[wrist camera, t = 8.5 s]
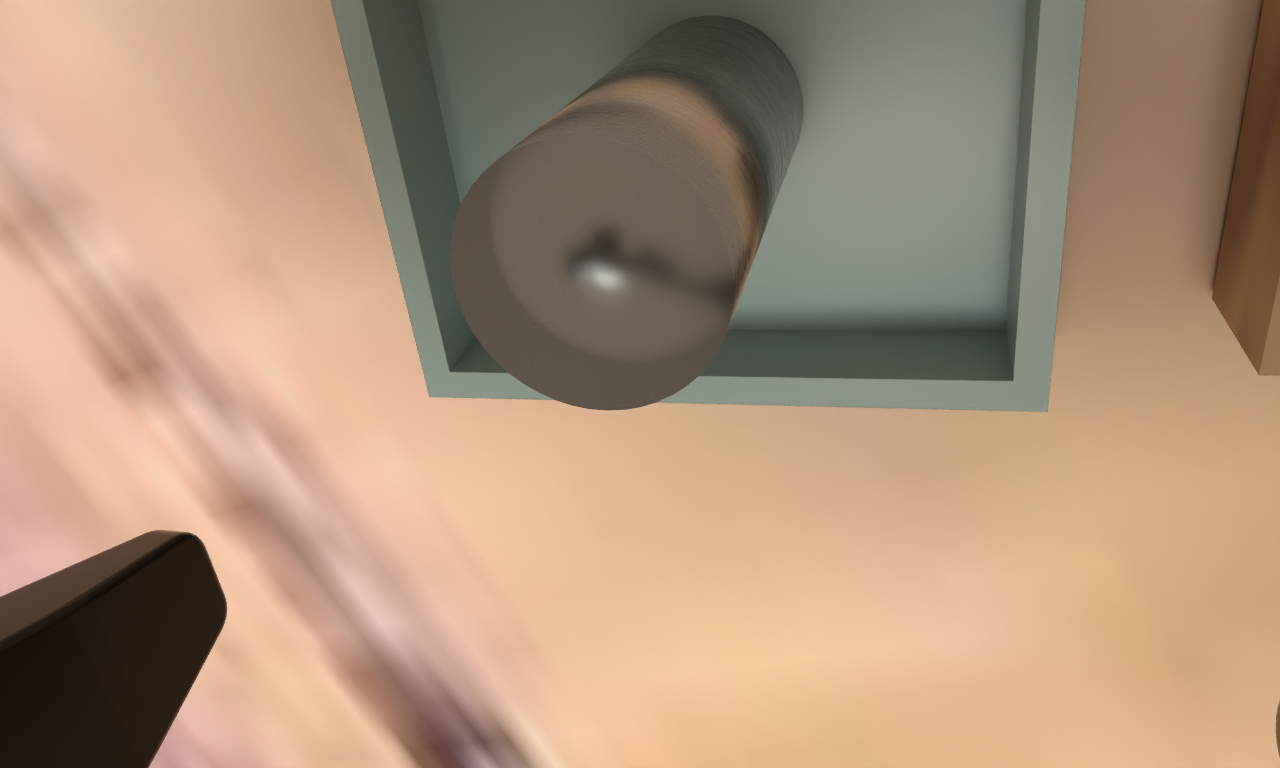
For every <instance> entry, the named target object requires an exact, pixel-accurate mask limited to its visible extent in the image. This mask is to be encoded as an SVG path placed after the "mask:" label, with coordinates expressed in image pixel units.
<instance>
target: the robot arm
mask: <svg viewBox="0 0 1280 768" xmlns="http://www.w3.org/2000/svg"><path fill="white" fill-rule="evenodd" d="M226 615H227V602H226V598H225V595H224V593H223V590H222V588H221V585H220V583H219V580H218V577H217V575H216V572H215V570H214V567H213V565H212V562H211V560H210V557H209V555H208V552H207V550H206V547H205V546H204V544H203V542H202V541H201V540H200V539H199V538H198V537H197V536H196V535H194V534H191V533H188V532H178V531H166V530H156V531H151V532H148V533H145V534H143V535H140V536H138V537H136V538H134V539H131V540H129V541H127V542H124V543H122V544H120V545H118V546H115V547H113V548H111V549H108V550H106V551H104V552H102V553H99V554H97V555H95V556H93V557H90V558H88V559H86V560H83V561H81V562H79V563H77V564H74V565H72V566H70V567H67V568H65V569H63V570H61V571H58V572H56V573H54V574H51V575H49V576H47V577H45V578H42V579H40V580H38V581H35V582H33V583H31V584H29V585H26V586H24V587H22V588H19V589H17V590H15V591H13V592H10V593H8V594H6V595H3V596H1V597H0V768H149V766H150V764H151V762H152V761H153V759H154V757H155V755H156V753H157V752H158V750H159V748H160V746H161V744H162V742H163V740H164V739H165V737H166V735H167V733H168V731H169V729H170V727H171V725H172V723H173V721H174V720H175V718H176V716H177V714H178V712H179V710H180V708H181V706H182V704H183V702H184V701H185V699H186V697H187V695H188V693H189V691H190V689H191V687H192V685H193V683H194V682H195V680H196V678H197V676H198V674H199V672H200V670H201V668H202V666H203V665H204V663H205V661H206V659H207V657H208V655H209V653H210V651H211V649H212V647H213V646H214V644H215V642H216V640H217V638H218V636H219V634H220V632H221V630H222V628H223V626H224V623H225V620H226ZM1276 738H1277V746H1278V752H1279V756H1280V702H1279V705H1278V710H1277V715H1276Z"/></svg>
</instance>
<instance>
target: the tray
mask: <svg viewBox="0 0 1280 768" xmlns="http://www.w3.org/2000/svg"><path fill="white" fill-rule="evenodd" d="M331 4H332V8H333V12H334V16H335V20H336V24H337V28H338V32H339V36H340V40H341V44H342V48H343V52H344V56H345V60H346V64H347V68H348V72H349V76H350V80H351V84H352V88H353V93H354V97H355V101H356V105H357V109H358V113H359V117H360V121H361V125H362V129H363V133H364V137H365V141H366V145H367V149H368V153H369V157H370V161H371V165H372V169H373V173H374V177H375V181H376V185H377V189H378V193H379V197H380V201H381V205H382V209H383V213H384V217H385V221H386V225H387V229H388V233H389V237H390V241H391V245H392V249H393V253H394V257H395V261H396V265H397V269H398V273H399V277H400V281H401V285H402V289H403V293H404V297H405V301H406V305H407V309H408V313H409V317H410V321H411V325H412V329H413V333H414V337H415V341H416V345H417V349H418V353H419V357H420V361H421V365H422V369H423V373H424V377H425V381H426V385H427V389H428V393H429V397H451V398H492V399H534V400H554V399H552V398H550V397H547V396H545V395H543V394H541V393H539V392H537V391H535V390H533V389H532V388H530V387H528V386H526V385H525V384H523V383H522V382H520V381H519V380H518V379H516V378H515V377H513V376H512V375H511V374H509V373H508V372H507V371H506V370H505V369H504V368H503V367H502V366H500V365H499V364H498V363H497V362H496V361H495V360H494V359H493V358H492V357H491V355H490V354H489V353H488V352H487V351H486V350H485V349H484V347H483V346H482V345H481V343H480V342H479V341H478V339H477V338H476V336H475V335H474V333H473V332H472V330H471V328H470V326H469V325H468V323H467V321H466V319H465V317H464V315H463V313H462V310H461V308H460V305H459V303H458V300H457V297H456V293H455V290H454V286H453V281H452V275H451V268H450V245H451V236H452V230H453V226H454V222H455V218H456V215H457V213H458V211H459V208H460V206H461V203H462V201H463V199H464V198H465V196H466V194H467V193H468V191H469V189H470V188H471V186H472V185H473V184H474V182H475V181H476V180H477V179H478V178H479V176H480V175H481V174H482V173H483V172H484V171H485V170H486V169H487V168H488V167H490V166H491V165H492V164H493V163H494V162H495V161H496V160H498V159H499V158H500V157H502V156H503V155H504V154H505V153H507V152H508V151H509V150H510V149H512V148H513V147H514V146H515V145H517V144H518V143H519V142H520V141H522V140H523V139H524V138H526V137H527V136H528V135H529V134H531V133H532V132H533V131H534V130H536V129H537V128H538V127H539V126H541V125H542V124H543V123H545V122H546V121H547V120H548V119H550V118H551V117H552V116H553V115H555V114H556V113H557V112H558V111H560V110H561V109H562V108H564V107H565V106H566V105H567V104H569V103H570V102H571V101H572V100H574V99H575V98H576V97H577V96H579V95H580V94H581V93H582V92H584V91H585V90H586V89H588V88H589V87H590V86H591V85H593V84H594V83H595V82H596V81H598V80H599V79H600V78H601V77H603V76H604V75H605V74H607V73H608V72H609V71H610V70H612V69H613V68H614V67H615V66H617V65H618V64H619V63H620V62H622V61H623V60H624V59H625V58H627V57H628V56H629V55H631V54H632V53H633V52H634V51H636V50H637V49H638V48H639V47H641V46H642V45H643V44H644V43H646V42H647V41H648V40H650V39H651V38H652V37H653V36H655V35H656V34H657V33H659V32H660V31H662V30H663V29H665V28H666V27H668V26H670V25H672V24H674V23H676V22H678V21H682V20H685V19H688V18H692V17H698V16H723V17H729V18H733V19H737V20H740V21H742V22H745V23H747V24H750V25H752V26H753V27H755V28H757V29H759V30H760V31H762V32H763V33H764V34H766V35H767V36H768V37H770V38H771V39H772V40H773V41H774V42H775V43H776V44H777V45H778V46H779V47H780V48H781V50H782V51H783V52H784V54H785V55H786V56H787V58H788V59H789V61H790V63H791V65H792V66H793V68H794V70H795V73H796V75H797V78H798V81H799V84H800V88H801V92H802V99H803V123H802V129H801V133H800V137H799V140H798V143H797V146H796V149H795V151H794V154H793V157H792V159H791V162H790V165H789V167H788V170H787V173H786V176H785V178H784V181H783V184H782V186H781V189H780V192H779V194H778V197H777V200H776V202H775V205H774V208H773V210H772V213H771V216H770V218H769V221H768V224H767V226H766V229H765V232H764V234H763V237H762V240H761V242H760V245H759V248H758V250H757V253H756V256H755V258H754V261H753V264H752V266H751V269H750V272H749V274H748V277H747V280H746V282H745V285H744V288H743V290H742V293H741V296H740V299H739V301H738V304H737V307H736V309H735V312H734V315H733V317H732V320H731V323H730V325H729V328H728V331H727V333H726V336H725V338H724V340H723V342H722V344H721V346H720V349H719V350H718V352H717V353H716V355H715V357H714V358H713V360H712V361H711V363H710V364H709V365H708V366H707V367H706V369H705V370H704V371H703V372H702V373H701V374H700V375H699V376H698V377H697V378H696V379H695V380H693V381H692V382H691V383H690V384H689V385H688V386H686V387H685V388H683V389H682V390H680V391H678V392H677V393H675V394H674V395H672V396H670V397H667V398H665V399H663V400H661V401H658V403H699V404H741V405H782V406H824V407H865V408H906V409H948V410H989V411H1031V412H1048V402H1049V392H1050V381H1051V370H1052V360H1053V349H1054V338H1055V327H1056V317H1057V306H1058V295H1059V284H1060V274H1061V263H1062V252H1063V241H1064V231H1065V220H1066V209H1067V199H1068V188H1069V177H1070V166H1071V156H1072V145H1073V134H1074V123H1075V113H1076V102H1077V91H1078V80H1079V70H1080V59H1081V48H1082V38H1083V27H1084V16H1085V5H1086V0H331Z"/></svg>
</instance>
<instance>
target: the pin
mask: <svg viewBox="0 0 1280 768" xmlns="http://www.w3.org/2000/svg"><path fill="white" fill-rule="evenodd" d="M802 123H803V99H802V92H801V88H800V84H799V81H798V78H797V75H796V73H795V70H794V68H793V66H792V65H791V63H790V61H789V59H788V58H787V56H786V55H785V54H784V52H783V51H782V50H781V48H780V47H779V46H778V45H777V44H776V43H775V42H774V41H773V40H772V39H771V38H770V37H768V36H767V35H766V34H764V33H763V32H762V31H760V30H759V29H757V28H755V27H753V26H752V25H750V24H747V23H745V22H742V21H740V20H737V19H733V18H729V17H723V16H698V17H692V18H688V19H685V20H682V21H678V22H676V23H674V24H672V25H670V26H668V27H666V28H665V29H663V30H662V31H660V32H659V33H657V34H656V35H655V36H653V37H652V38H651V39H650V40H648V41H647V42H646V43H644V44H643V45H642V46H641V47H639V48H638V49H637V50H636V51H634V52H633V53H632V54H631V55H629V56H628V57H627V58H625V59H624V60H623V61H622V62H620V63H619V64H618V65H617V66H615V67H614V68H613V69H612V70H610V71H609V72H608V73H607V74H605V75H604V76H603V77H601V78H600V79H599V80H598V81H596V82H595V83H594V84H593V85H591V86H590V87H589V88H588V89H586V90H585V91H584V92H582V93H581V94H580V95H579V96H577V97H576V98H575V99H574V100H572V101H571V102H570V103H569V104H567V105H566V106H565V107H564V108H562V109H561V110H560V111H558V112H557V113H556V114H555V115H553V116H552V117H551V118H550V119H548V120H547V121H546V122H545V123H543V124H542V125H541V126H539V127H538V128H537V129H536V130H534V131H533V132H532V133H531V134H529V135H528V136H527V137H526V138H524V139H523V140H522V141H520V142H519V143H518V144H517V145H515V146H514V147H513V148H512V149H510V150H509V151H508V152H507V153H505V154H504V155H503V156H502V157H500V158H499V159H498V160H496V161H495V162H494V163H493V164H492V165H491V166H490V167H488V168H487V169H486V170H485V171H484V172H483V173H482V174H481V175H480V176H479V178H478V179H477V180H476V181H475V182H474V184H473V185H472V186H471V188H470V189H469V191H468V193H467V194H466V196H465V198H464V199H463V201H462V203H461V206H460V208H459V211H458V213H457V215H456V218H455V222H454V226H453V230H452V236H451V245H450V268H451V275H452V281H453V286H454V290H455V293H456V297H457V300H458V303H459V305H460V308H461V310H462V313H463V315H464V317H465V319H466V321H467V323H468V325H469V326H470V328H471V330H472V332H473V333H474V335H475V336H476V338H477V339H478V341H479V342H480V343H481V345H482V346H483V347H484V349H485V350H486V351H487V352H488V353H489V354H490V355H491V357H492V358H493V359H494V360H495V361H496V362H497V363H498V364H499V365H500V366H502V367H503V368H504V369H505V370H506V371H507V372H508V373H509V374H511V375H512V376H513V377H515V378H516V379H518V380H519V381H520V382H522V383H523V384H525V385H526V386H528V387H530V388H532V389H533V390H535V391H537V392H539V393H541V394H543V395H545V396H547V397H550V398H552V399H554V400H557V401H560V402H563V403H566V404H569V405H573V406H578V407H583V408H588V409H597V410H625V409H631V408H637V407H642V406H646V405H649V404H652V403H656V402H658V401H661V400H663V399H665V398H667V397H670V396H672V395H674V394H675V393H677V392H678V391H680V390H682V389H683V388H685V387H686V386H688V385H689V384H690V383H691V382H692V381H693V380H695V379H696V378H697V377H698V376H699V375H700V374H701V373H702V372H703V371H704V370H705V369H706V367H707V366H708V365H709V364H710V363H711V361H712V360H713V358H714V357H715V355H716V353H717V352H718V350H719V349H720V346H721V344H722V342H723V340H724V338H725V336H726V333H727V331H728V328H729V325H730V323H731V320H732V317H733V315H734V312H735V309H736V307H737V304H738V301H739V299H740V296H741V293H742V290H743V288H744V285H745V282H746V280H747V277H748V274H749V272H750V269H751V266H752V264H753V261H754V258H755V256H756V253H757V250H758V248H759V245H760V242H761V240H762V237H763V234H764V232H765V229H766V226H767V224H768V221H769V218H770V216H771V213H772V210H773V208H774V205H775V202H776V200H777V197H778V194H779V192H780V189H781V186H782V184H783V181H784V178H785V176H786V173H787V170H788V167H789V165H790V162H791V159H792V157H793V154H794V151H795V149H796V146H797V143H798V140H799V137H800V133H801V129H802Z"/></svg>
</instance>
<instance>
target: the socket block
mask: <svg viewBox="0 0 1280 768" xmlns="http://www.w3.org/2000/svg"><path fill="white" fill-rule="evenodd" d="M1212 299H1213V301H1214V302H1215V304H1216V306H1217V307H1218V309H1219V311H1220V312H1221V314H1222V315H1223V317H1224V319H1225V320H1226V322H1227V324H1228V325H1229V327H1230V329H1231V330H1232V332H1233V333H1234V335H1235V337H1236V338H1237V340H1238V342H1239V343H1240V345H1241V347H1242V348H1243V350H1244V351H1245V353H1246V355H1247V356H1248V358H1249V360H1250V361H1251V363H1252V365H1253V366H1254V368H1255V370H1256V371H1257V373H1258V374H1259V375H1280V0H1264V2H1263V8H1262V13H1261V19H1260V25H1259V31H1258V36H1257V42H1256V48H1255V54H1254V59H1253V65H1252V71H1251V77H1250V82H1249V88H1248V94H1247V100H1246V105H1245V111H1244V117H1243V123H1242V128H1241V134H1240V140H1239V146H1238V151H1237V157H1236V163H1235V169H1234V174H1233V180H1232V186H1231V192H1230V197H1229V203H1228V209H1227V215H1226V221H1225V226H1224V232H1223V238H1222V244H1221V249H1220V255H1219V261H1218V267H1217V272H1216V278H1215V284H1214V290H1213V295H1212Z"/></svg>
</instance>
